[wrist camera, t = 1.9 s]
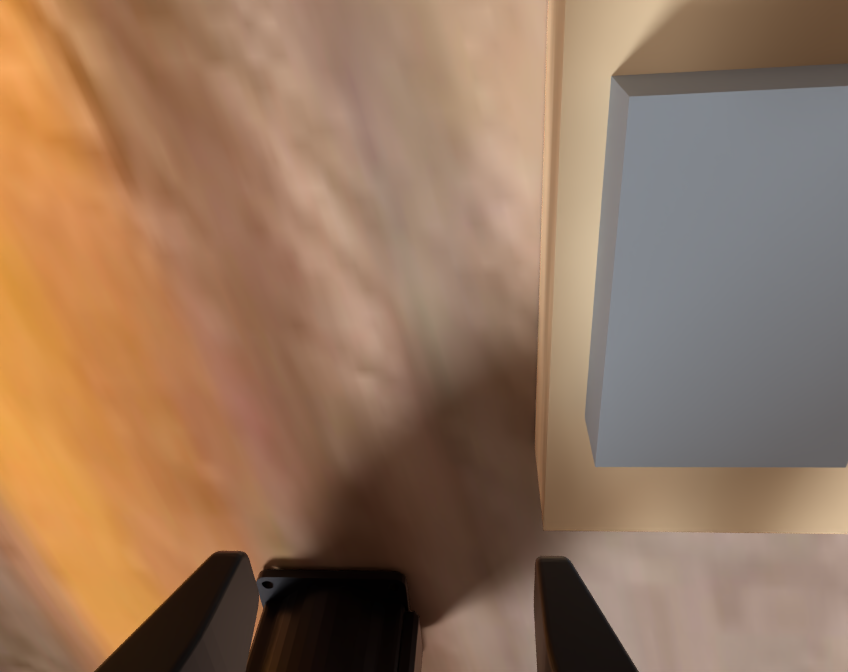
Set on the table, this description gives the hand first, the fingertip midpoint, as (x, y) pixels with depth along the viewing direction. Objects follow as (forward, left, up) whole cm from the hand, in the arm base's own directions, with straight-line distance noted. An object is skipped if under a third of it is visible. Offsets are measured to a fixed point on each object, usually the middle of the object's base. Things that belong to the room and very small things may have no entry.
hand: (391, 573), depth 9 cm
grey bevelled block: (+7, 0, -9) cm, 11 cm away
